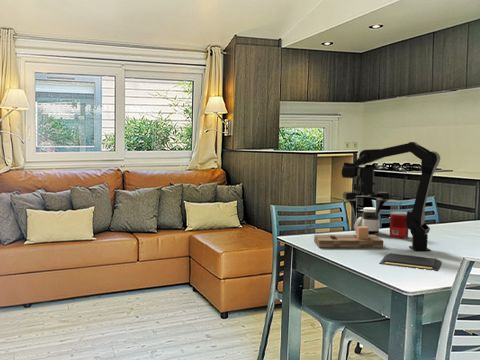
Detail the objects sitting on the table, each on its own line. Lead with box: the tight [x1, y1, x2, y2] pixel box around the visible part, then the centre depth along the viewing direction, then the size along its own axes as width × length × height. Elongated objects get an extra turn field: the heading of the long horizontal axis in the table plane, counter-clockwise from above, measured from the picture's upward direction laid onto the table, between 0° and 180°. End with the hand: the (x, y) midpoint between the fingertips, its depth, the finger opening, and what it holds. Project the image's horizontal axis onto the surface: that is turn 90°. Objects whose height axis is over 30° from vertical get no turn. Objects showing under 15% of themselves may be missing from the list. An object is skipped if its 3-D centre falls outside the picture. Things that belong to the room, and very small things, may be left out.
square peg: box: [355, 226, 369, 239], centre depth 197 cm, size 4×4×7 cm
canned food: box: [389, 210, 409, 239], centre depth 213 cm, size 8×8×11 cm
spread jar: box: [353, 206, 380, 235], centre depth 223 cm, size 12×11×12 cm
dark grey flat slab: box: [378, 252, 443, 272], centre depth 170 cm, size 20×2×15 cm
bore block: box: [313, 234, 384, 249], centre depth 197 cm, size 12×26×3 cm, turn 91°
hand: (365, 215), depth 201 cm, fingers open, 9 cm apart
